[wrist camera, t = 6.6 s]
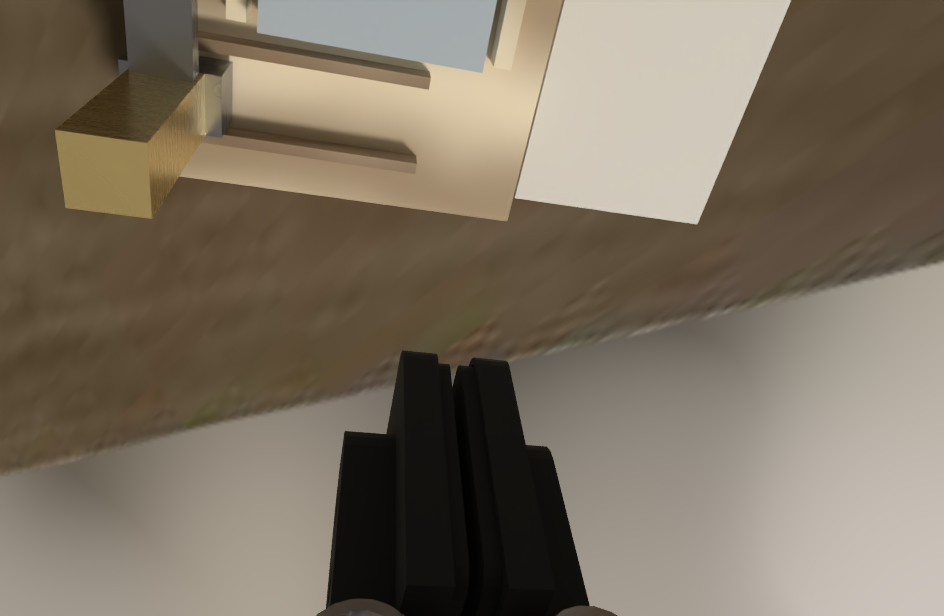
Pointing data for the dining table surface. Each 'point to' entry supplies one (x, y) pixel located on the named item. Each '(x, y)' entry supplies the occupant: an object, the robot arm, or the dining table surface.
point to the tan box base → (376, 114)
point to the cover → (388, 27)
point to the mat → (644, 102)
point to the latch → (145, 114)
